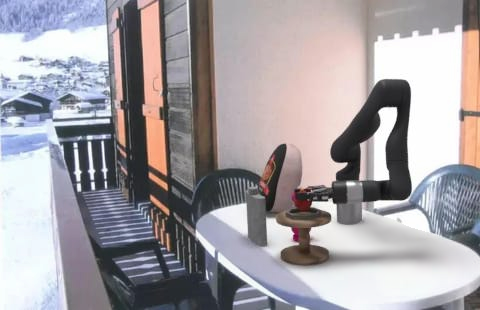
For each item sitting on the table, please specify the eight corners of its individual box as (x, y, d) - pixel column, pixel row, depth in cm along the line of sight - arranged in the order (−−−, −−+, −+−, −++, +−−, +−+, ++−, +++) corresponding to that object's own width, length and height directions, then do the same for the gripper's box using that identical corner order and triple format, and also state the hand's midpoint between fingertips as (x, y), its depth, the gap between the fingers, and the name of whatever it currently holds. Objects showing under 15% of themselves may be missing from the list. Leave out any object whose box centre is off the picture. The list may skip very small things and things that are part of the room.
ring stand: (312, 244, 195) (311, 201, 192) (343, 258, 179) (342, 212, 176) (268, 254, 187) (265, 209, 184) (296, 270, 171) (294, 221, 168)
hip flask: (268, 245, 196) (266, 191, 193) (257, 247, 195) (255, 192, 192) (254, 233, 211) (252, 182, 208) (244, 235, 210) (242, 183, 207)
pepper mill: (314, 237, 202) (312, 184, 199) (308, 243, 196) (306, 188, 193) (295, 235, 206) (293, 183, 202) (288, 241, 199) (286, 187, 196)
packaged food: (253, 207, 250) (250, 142, 246) (295, 203, 254) (292, 139, 249) (264, 220, 229) (261, 148, 225) (309, 215, 233) (307, 145, 228)
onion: (314, 209, 182) (313, 186, 181) (310, 214, 177) (309, 190, 175) (296, 209, 184) (295, 186, 183) (292, 214, 179) (291, 190, 177)
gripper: (344, 176, 185) (293, 178, 186) (349, 185, 171) (294, 187, 172) (344, 198, 186) (294, 200, 187) (350, 208, 172) (296, 211, 173)
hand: (294, 194), depth 180 cm, fingers closed on onion, 5 cm apart
